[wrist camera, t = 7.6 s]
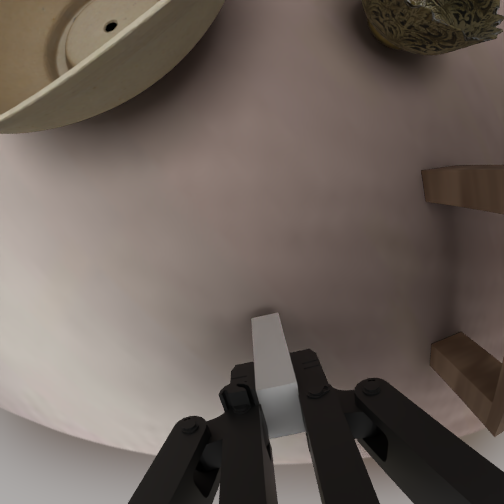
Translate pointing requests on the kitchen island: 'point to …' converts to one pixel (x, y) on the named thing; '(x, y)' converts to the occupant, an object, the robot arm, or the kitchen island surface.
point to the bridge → (459, 345)
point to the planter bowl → (88, 55)
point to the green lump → (432, 23)
